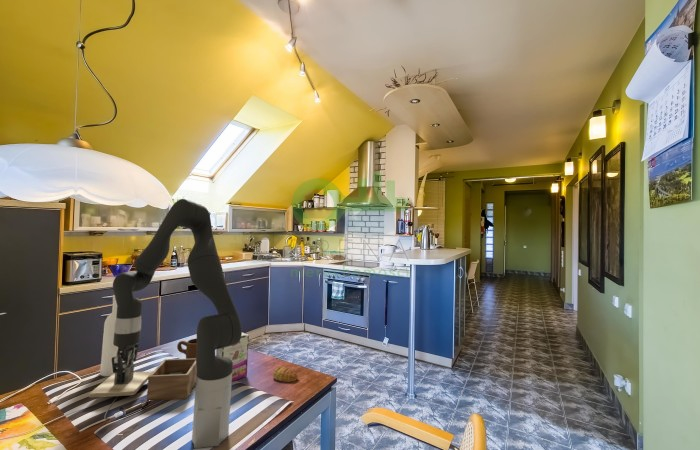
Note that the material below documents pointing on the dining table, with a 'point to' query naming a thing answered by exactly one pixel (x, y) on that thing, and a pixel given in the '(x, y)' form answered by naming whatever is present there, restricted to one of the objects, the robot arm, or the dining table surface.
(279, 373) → the pastry
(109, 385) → the lid
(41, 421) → the dining table surface
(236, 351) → the candy bar box
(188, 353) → the mug
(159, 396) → the box
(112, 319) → the bottle
